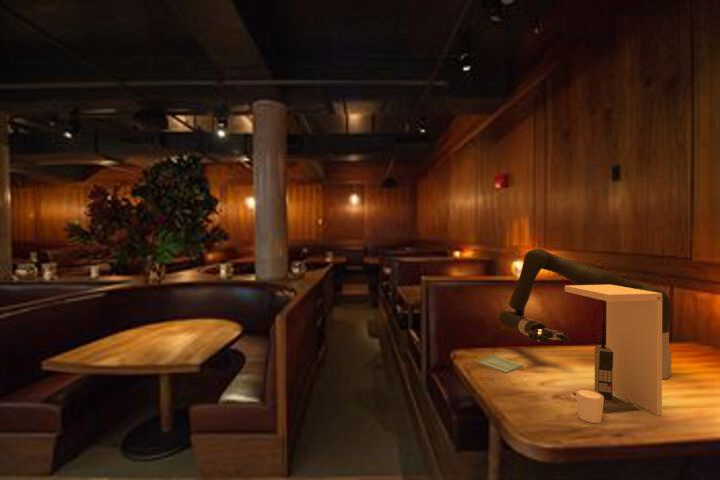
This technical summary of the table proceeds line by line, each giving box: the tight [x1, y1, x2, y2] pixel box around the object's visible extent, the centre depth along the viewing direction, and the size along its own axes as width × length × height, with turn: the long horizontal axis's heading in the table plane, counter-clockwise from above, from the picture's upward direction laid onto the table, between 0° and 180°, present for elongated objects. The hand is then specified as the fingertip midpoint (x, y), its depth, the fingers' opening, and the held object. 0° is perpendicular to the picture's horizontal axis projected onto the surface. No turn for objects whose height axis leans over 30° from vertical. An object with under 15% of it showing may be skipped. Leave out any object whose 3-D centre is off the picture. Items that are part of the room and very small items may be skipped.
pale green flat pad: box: [476, 355, 523, 375], centre depth 138 cm, size 14×12×1 cm
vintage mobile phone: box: [594, 321, 614, 404], centre depth 107 cm, size 4×5×25 cm
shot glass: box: [575, 388, 604, 424], centre depth 98 cm, size 7×7×7 cm
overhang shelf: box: [564, 284, 663, 416], centre depth 107 cm, size 17×18×36 cm
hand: (558, 340), depth 128 cm, fingers open, 8 cm apart
